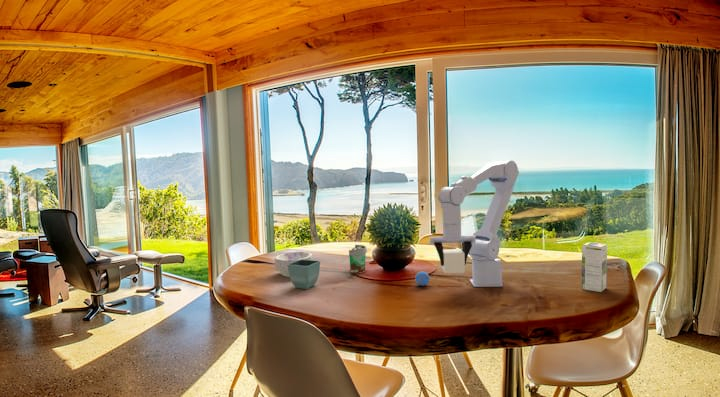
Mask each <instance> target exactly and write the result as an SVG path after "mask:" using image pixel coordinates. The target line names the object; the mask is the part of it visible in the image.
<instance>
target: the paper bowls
mask: <svg viewBox="0 0 720 397" xmlns="http://www.w3.org/2000/svg"><path fill="white" fill-rule="evenodd" d="M298 260H313V254H312V253H311V252H307V251H292V252H285V253H281V254H278V255H276V256H275V257H274V263H275V264H274V268H275V271H278V272H280V274H281V275H282V276H283V277H286V278H290V277H289V271H288V264H290V263H293V262H296V261H298Z"/></svg>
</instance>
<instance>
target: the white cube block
mask: <svg viewBox="0 0 720 397" xmlns="http://www.w3.org/2000/svg"><path fill="white" fill-rule="evenodd" d="M443 261H444V266H441V268H442V271H443V273H444V274H465V273H466V265H465V253H464V252H463V251H462V248H454V249H453V248H451V249H447V248H446V249H443Z"/></svg>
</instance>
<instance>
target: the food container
mask: <svg viewBox="0 0 720 397" xmlns="http://www.w3.org/2000/svg"><path fill="white" fill-rule="evenodd" d="M367 253H368V249H367V246H365V245H362V244H355V245H354V247H353V248H352V249H349V250H348V257H349V271H350V275H356V274H355V273H359V272H363V271H365V272H366V261H367V260H366V259H367V258H366V256H367ZM363 273H364V272H363Z"/></svg>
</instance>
